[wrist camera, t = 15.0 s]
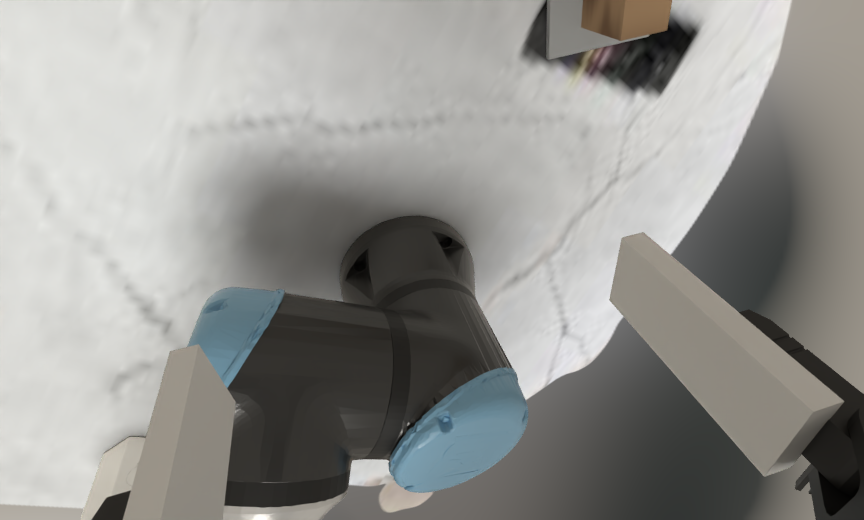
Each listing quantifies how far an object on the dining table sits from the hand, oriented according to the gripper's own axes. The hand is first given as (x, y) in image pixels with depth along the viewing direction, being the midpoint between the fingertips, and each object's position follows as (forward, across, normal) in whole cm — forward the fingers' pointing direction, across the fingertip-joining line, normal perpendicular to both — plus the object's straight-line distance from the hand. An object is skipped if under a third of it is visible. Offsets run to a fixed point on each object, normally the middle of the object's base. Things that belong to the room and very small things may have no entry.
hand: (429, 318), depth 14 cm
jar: (+30, +36, +42) cm, 63 cm away
